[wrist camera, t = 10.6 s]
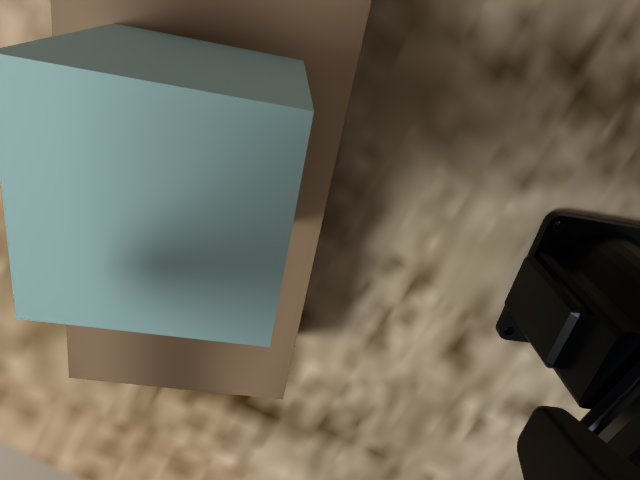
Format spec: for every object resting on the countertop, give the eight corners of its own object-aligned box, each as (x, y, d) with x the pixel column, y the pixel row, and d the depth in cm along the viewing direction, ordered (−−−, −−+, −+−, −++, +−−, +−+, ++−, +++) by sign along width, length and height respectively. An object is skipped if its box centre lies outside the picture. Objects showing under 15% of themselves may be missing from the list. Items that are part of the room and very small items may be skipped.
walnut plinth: (398, -223, 14) (437, -295, 10) (283, 334, 23) (282, 399, 19) (103, -310, 13) (30, -425, 9) (105, 313, 21) (69, 377, 18)
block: (303, 60, 13) (313, 111, 8) (276, 223, 15) (270, 347, 10) (113, 23, 13) (-15, 50, 7) (113, 199, 15) (16, 318, 9)
